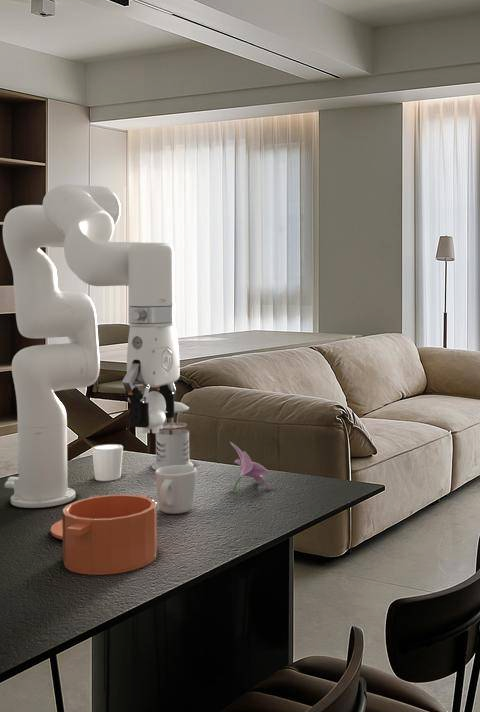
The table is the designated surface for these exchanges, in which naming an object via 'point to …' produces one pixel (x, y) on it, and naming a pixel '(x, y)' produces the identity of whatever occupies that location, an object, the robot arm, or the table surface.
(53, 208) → the robot arm
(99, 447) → the white short tapered cylinder
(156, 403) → the toy creature
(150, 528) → the pot
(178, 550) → the table surface
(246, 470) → the lily
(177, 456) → the white hanging lantern
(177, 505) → the cup
